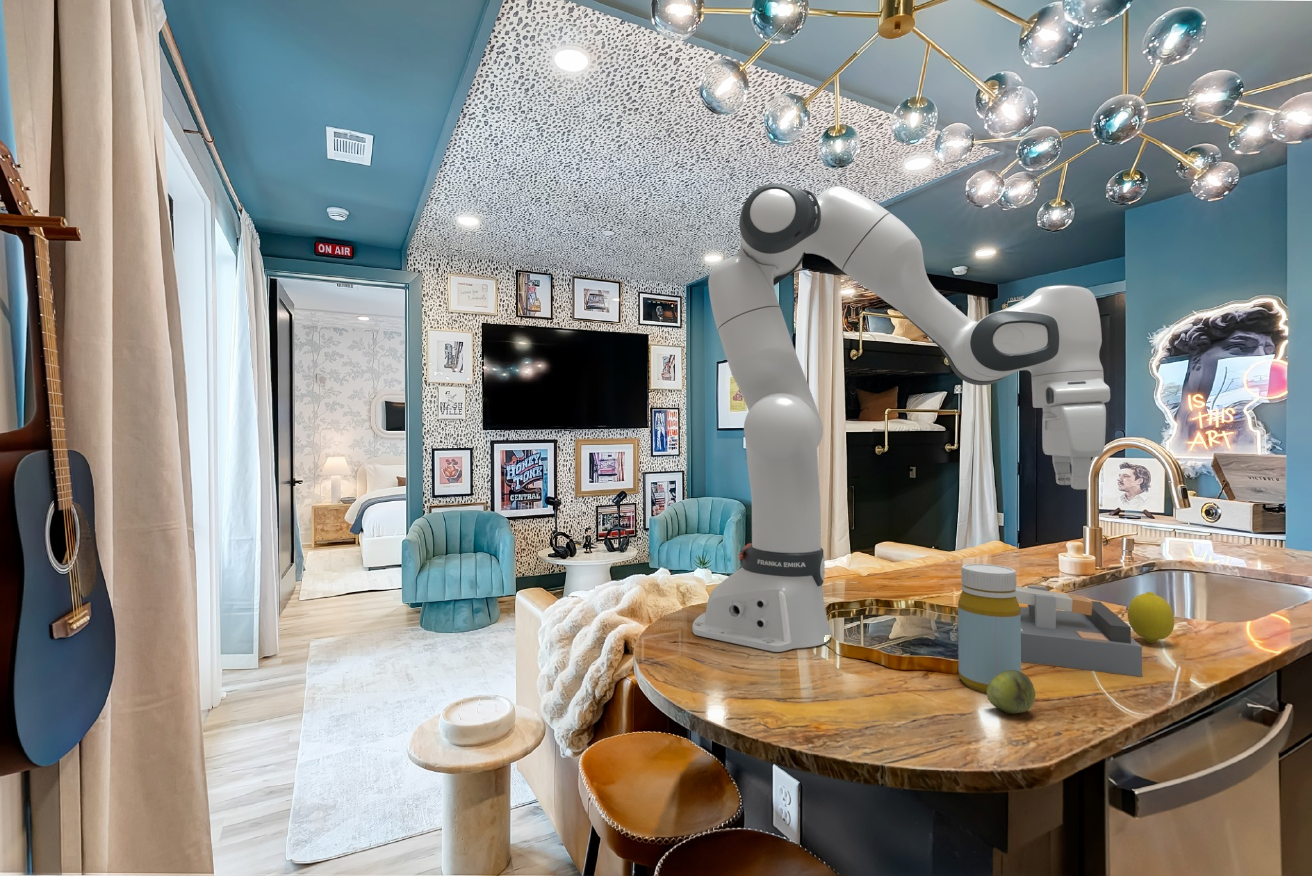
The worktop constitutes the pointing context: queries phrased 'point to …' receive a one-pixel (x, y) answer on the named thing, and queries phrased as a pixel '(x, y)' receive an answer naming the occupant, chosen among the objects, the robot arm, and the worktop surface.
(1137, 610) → the lemon
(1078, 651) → the low grey base tray
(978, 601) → the bottle
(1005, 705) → the lime
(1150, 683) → the worktop surface
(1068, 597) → the lever
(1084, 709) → the worktop surface
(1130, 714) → the worktop surface
